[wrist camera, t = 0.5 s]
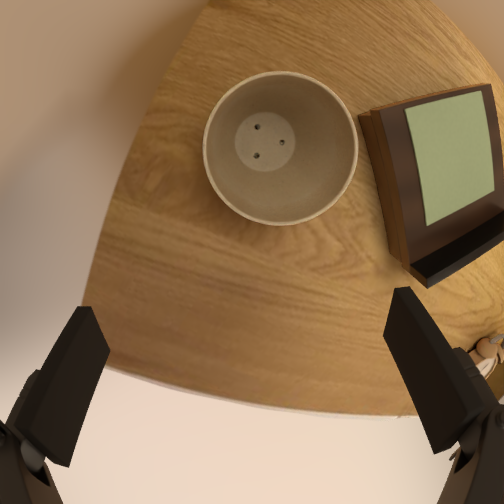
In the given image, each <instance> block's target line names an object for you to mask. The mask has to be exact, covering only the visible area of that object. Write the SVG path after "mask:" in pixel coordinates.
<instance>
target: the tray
mask: <svg viewBox="0 0 504 504" xmlns="http://www.w3.org/2000/svg"><path fill="white" fill-rule="evenodd" d="M358 117H359V120H360V124H361V127H362V130H363V134H364V137H365V141H366V144H367V148H368V152H369V155H370V159H371V163H372V167H373V171H374V175H375V179H376V183H377V188H378V192H379V197H380V201H381V206H382V211H383V216H384V221H385V226H386V232H387V237H388V243H389V249H390V254H392V255H393V256H394V257H395V258H396V259H398V260H399V261H400V262H401V263H402V267H403V268H404V269H405V270H406V271H408V272H409V273H410V274H411V275H412V276H413V277H414V278H416V279H417V280H418V281H419V282H420V283H421V284H422V285H423V286H425V287H426V288H427V289H428V288H430V287H431V286H433V285H435V284H437V283H438V282H440V281H442V280H443V279H445V278H447V277H448V276H450V275H452V274H453V273H455V272H456V271H458V270H460V269H461V268H463V267H464V266H466V265H468V264H469V263H471V262H472V261H474V260H475V259H477V258H478V257H480V256H481V255H483V254H484V253H486V252H487V251H489V250H490V249H492V248H493V247H495V246H496V245H498V244H499V243H500V242H502V241H503V240H504V169H503V156H502V146H501V138H500V130H499V124H498V117H497V111H496V106H495V101H494V96H493V91H492V86H491V84H484V83H480V84H475V85H469V86H464V87H459V88H454V89H450V90H445V91H440V92H436V93H432V94H427V95H423V96H419V97H415V98H411V99H407V100H403V101H399V102H396V103H392V104H388V105H385V106H381V107H378V108H374V109H371V110H369V112H366V113H363V114H359V115H358Z"/></svg>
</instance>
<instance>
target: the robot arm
mask: <svg viewBox="0 0 504 504" xmlns="http://www.w3.org/2000/svg"><path fill="white" fill-rule="evenodd" d="M383 337H384V339H385V341H386V343H387V345H388V347H389V349H390V352H391V354H392V356H393V358H394V360H395V362H396V364H397V367H398V369H399V371H400V373H401V375H402V378H403V380H404V382H405V384H406V387H407V389H408V391H409V394H410V396H411V398H412V401H413V403H414V405H415V408H416V410H417V412H418V415H419V417H420V420H421V422H422V425H423V427H424V430H425V432H426V435H427V437H428V440H429V443H430V445H431V448H432V450H433V453H434V454H437V453H439V452H442V451H445V450H447V449H450V448H451V447H452V446H453V445H454V444H455V443H456V442H457V441H458V442H459V444H460V447H459V448H458V449H457V450H456V451H455V452H454V453H453V454H452V456H451V457H450V459H449V460H450V461H451V460H452V459H453V458H454V457H455V456H456V457H455V459H454V462H453V465H452V468H451V471H450V473H449V476H448V478H447V481H446V484H445V486H444V488H443V491H442V493H441V496H440V498H439V500H438V502H437V504H504V405H502V404H499V402H498V401H497V399H496V397H495V396H494V394H493V392H492V391H491V389H490V387H489V385H488V384H487V382H486V380H485V379H484V377H483V375H482V374H480V371H479V369H478V367H476V364H475V363H474V361H473V359H472V358H471V356H470V355H469V354H468V353H467V352H466V351H464V350H463V349H462V348H461V347H458V348H454V349H452V348H451V346H450V345H449V343H448V342H447V340H446V339H445V337H444V335H443V334H442V332H441V331H440V329H439V328H438V326H437V325H436V323H435V322H434V320H433V319H432V317H431V316H430V315H429V313H428V312H427V310H426V309H425V307H424V306H423V304H422V303H421V302H420V300H419V299H418V297H417V296H416V295H415V293H414V292H413V290H412V289H411V288H410V286H408V287H400V288H394V293H393V297H392V302H391V306H390V310H389V314H388V318H387V322H386V326H385V330H384V333H383ZM109 353H110V348H109V346H108V344H107V342H106V340H105V338H104V335H103V333H102V331H101V329H100V326H99V324H98V322H97V320H96V317H95V315H94V312H93V310H92V308H91V306H78V307H77V308H76V310H75V311H74V313H73V314H72V316H71V318H70V319H69V321H68V323H67V324H66V326H65V327H64V329H63V331H62V332H61V334H60V336H59V337H58V339H57V341H56V343H55V344H54V346H53V348H52V350H51V351H50V353H49V355H48V357H47V359H46V360H45V362H44V364H43V366H42V368H41V370H37V369H36V370H35V371H34V372H33V373H32V374H31V375H30V376H29V377H28V379H27V381H26V383H25V385H24V387H23V389H22V391H21V392H20V395H19V397H18V399H17V400H16V402H15V404H14V407H13V408H12V410H11V413H10V415H9V417H8V419H7V421H6V423H5V424H4V423H3V422H2V421H1V420H0V504H63V502H62V500H61V497H60V495H59V493H58V491H57V488H56V486H55V483H54V481H53V479H52V476H51V474H50V471H49V468H48V466H47V465H46V463H45V462H44V460H45V457H47V458H48V459H49V460H51V461H52V462H53V463H55V464H58V465H61V466H65V467H68V468H69V466H70V462H71V459H72V456H73V452H74V449H75V446H76V443H77V440H78V436H79V434H80V431H81V428H82V425H83V422H84V419H85V416H86V413H87V410H88V408H89V405H90V402H91V399H92V397H93V394H94V391H95V388H96V386H97V383H98V381H99V378H100V376H101V373H102V370H103V368H104V366H105V363H106V361H107V358H108V356H109Z"/></svg>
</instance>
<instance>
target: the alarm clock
mask: <svg viewBox="0 0 504 504" xmlns="http://www.w3.org/2000/svg"><path fill="white" fill-rule="evenodd" d="M501 338H504V334H499V335H497V336H496V337H494V338H493V339H489V338H483V339H481V340H480V341H479V342H478V344H477V348H476V349H474V350H473V351H471V352H470V353H469V355H470V356H471V358H472V359H473V361H474V363H475V364H476V367H478V369H479V371H480V374H482V375H483V377H484V379H485V380H486V378H487V377H488V376H489V375H490V374H491V372H492V371H493V370H494V368H495V366H496V364H497V363H498V364H501V363H502V361H503V359H504V351H503V349H504V339H503V342H502V344H501V346H500V345H499V344H498V343H495V342H497V341H498V340H500V339H501Z"/></svg>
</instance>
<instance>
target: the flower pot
mask: <svg viewBox="0 0 504 504" xmlns="http://www.w3.org/2000/svg"><path fill="white" fill-rule="evenodd" d="M255 126H256V127H257V128H258V129H255ZM280 140H283V142H281V141H280ZM202 150H203V161H204V166H205V170H206V173H207V176H208V179H209V181H210V183H211V185H212V187H213V188H214V190H215V192H216V193H217V194H218V196H219V197H220V198H221V199H222V200H223V202H224V203H225V204H226V205H227V206H229V207H230V208H231V209H232V210H234V211H235V212H236V213H238V214H239V215H241V216H243V217H245V218H247V219H249V220H251V221H254V222H258V223H261V224H266V225H275V226H286V225H294V224H298V223H302V222H306V221H308V220H311V219H313V218H315V217H317V216H319V215H320V214H322V213H323V212H325V211H326V210H328V209H329V208H330V207H331V206H332V205H334V204H335V203H336V202H337V201H338V199H339V198H340V197H341V196H342V195H343V193H344V192H345V190H346V189H347V187H348V185H349V184H350V182H351V180H352V177H353V175H354V172H355V169H356V164H357V159H358V137H357V132H356V127H355V124H354V122H353V119H352V117H351V114H350V112H349V111H348V109H347V107H346V106H345V104H344V103H343V102H342V100H341V99H340V98H339V97H338V96H337V95H336V93H334V92H333V91H332V90H331V89H330V88H329V87H327V86H326V85H324V84H323V83H321V82H320V81H318V80H316V79H314V78H312V77H309V76H307V75H304V74H301V73H296V72H290V71H271V72H265V73H261V74H257V75H254V76H251V77H249V78H247V79H245V80H243V81H241V82H239V83H238V84H236V85H235V86H234V87H232V88H231V89H230V90H228V91H227V92H226V93H225V94H224V95H223V96H222V97H221V99H220V100H219V101H218V103H217V104H216V105H215V107H214V109H213V110H212V112H211V114H210V116H209V118H208V121H207V124H206V127H205V131H204V136H203V146H202ZM258 154H259V157H258V158H257V155H258Z"/></svg>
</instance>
